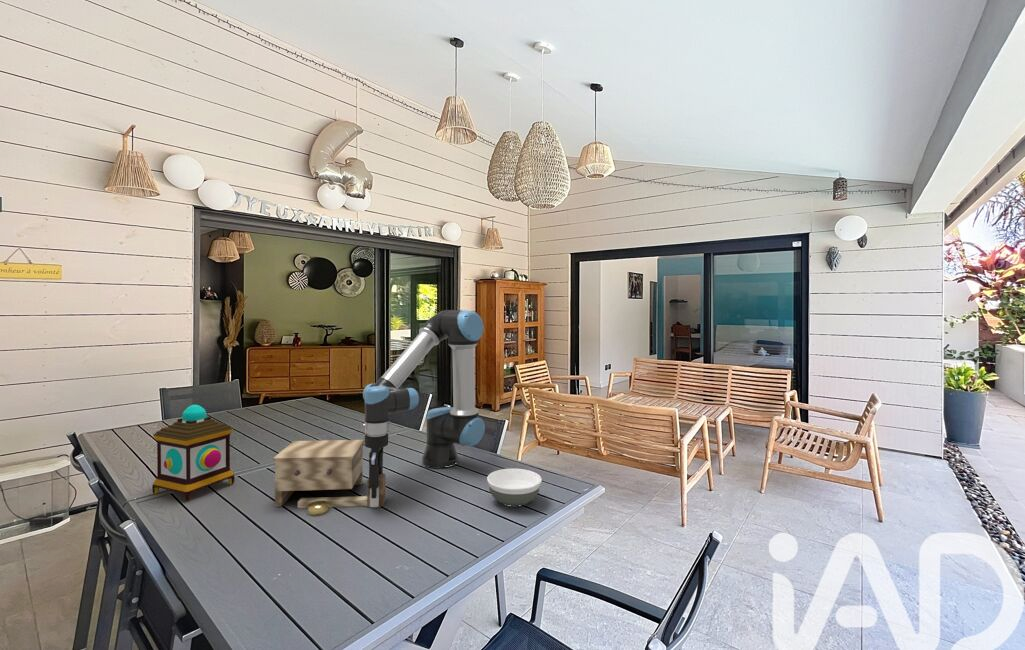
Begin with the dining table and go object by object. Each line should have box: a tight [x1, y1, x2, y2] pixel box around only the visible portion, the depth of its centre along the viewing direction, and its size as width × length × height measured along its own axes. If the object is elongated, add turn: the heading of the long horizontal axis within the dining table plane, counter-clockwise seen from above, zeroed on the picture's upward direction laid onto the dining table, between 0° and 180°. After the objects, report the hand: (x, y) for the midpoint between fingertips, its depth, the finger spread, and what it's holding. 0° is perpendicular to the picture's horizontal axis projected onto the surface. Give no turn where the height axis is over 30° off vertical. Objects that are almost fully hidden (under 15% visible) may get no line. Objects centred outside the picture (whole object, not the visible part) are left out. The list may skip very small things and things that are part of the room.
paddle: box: [297, 473, 387, 509], centre depth 148 cm, size 27×5×9 cm, turn 97°
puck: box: [307, 501, 329, 517], centre depth 143 cm, size 6×6×2 cm
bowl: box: [486, 468, 543, 506], centre depth 153 cm, size 19×19×8 cm
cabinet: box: [272, 439, 365, 507], centre depth 156 cm, size 25×20×16 cm
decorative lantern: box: [151, 404, 235, 502], centre depth 158 cm, size 20×20×30 cm
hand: (375, 502), depth 150 cm, fingers closed on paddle, 5 cm apart
